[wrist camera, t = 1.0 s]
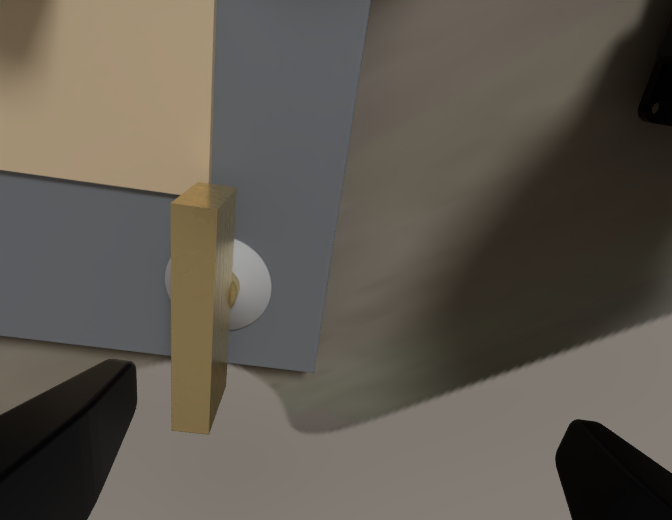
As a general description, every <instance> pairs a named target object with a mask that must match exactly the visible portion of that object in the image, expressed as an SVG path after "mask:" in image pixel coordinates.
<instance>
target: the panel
mask: <svg viewBox="0 0 672 520" xmlns="http://www.w3.org/2000/svg"><path fill="white" fill-rule="evenodd" d="M370 3H371V0H0V336H8V337H16V338H25V339H33V340H41V341H50V342H58V343H67V344H75V345H84V346H92V347H100V348H109V349H117V350H126V351H134V352H143V353H151V354H159V355H168V356H171V202H172V201H174V200H175V199H176V198H178V197H179V196H180V195H181V194H183V193H184V192H185V191H187V190H188V189H189V188H190V187H192V186H193V185H194V184H196V183H197V182H204V183H211V184H218V185H225V186H232V187H237V197H236V215H235V233H234V251H233V268H232V272H233V273H234V274H235V275H236V276H237V278H238V280H239V283H240V291H239V294H238V296H237V299H236V301H235V303H234V305H233V306H232V308H231V309H230V322H229V340H228V357H227V363H235V364H244V365H252V366H261V367H269V368H277V369H286V370H294V371H303V372H311V373H314V369H315V362H316V356H317V349H318V343H319V336H320V329H321V323H322V316H323V310H324V303H325V297H326V290H327V284H328V277H329V271H330V264H331V258H332V251H333V245H334V238H335V231H336V225H337V218H338V212H339V205H340V199H341V192H342V186H343V179H344V173H345V166H346V160H347V153H348V146H349V140H350V133H351V127H352V120H353V114H354V107H355V101H356V94H357V88H358V81H359V75H360V68H361V61H362V55H363V48H364V42H365V35H366V29H367V22H368V16H369V9H370Z"/></svg>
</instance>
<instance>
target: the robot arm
mask: <svg viewBox="0 0 672 520" xmlns="http://www.w3.org/2000/svg"><path fill="white" fill-rule="evenodd" d="M657 102H658V104H659V109H658V111H657V112H656V113H655V114H653V113H652V107H653V106H654V104H656V103H657ZM638 116H639V118H640V119H641V120H642V121H644V122H648V123H655V124H661V125H667V126H672V17H671V20H670V22H669V25H668V27H667V30H666V32H665V35H664V37H663V40H662V43H661V45H660V48H659V50H658V53H657V61H656V63H655V66H654V69H653V71H652V74H651V76H650V79H649V81H648V84H647V86H646V89H645V91H644V94H643V96H642V99H641V101H640V104H639V107H638ZM136 405H137V379H136V366H135V364H134V363H133V362H131V361H125V360H118V359H108V360H105V361H103V362H101V363H99V364H98V365H96V366H94V367H92V368H90V369H88V370H86V371H84V372H82V373H80V374H78V375H76V376H74V377H73V378H71V379H69V380H67V381H65V382H63V383H61V384H59V385H57V386H55V387H53V388H51V389H49V390H47V391H46V392H44V393H42V394H40V395H38V396H36V397H34V398H32V399H30V400H28V401H26V402H24V403H22V404H20V405H19V406H17V407H15V408H13V409H11V410H9V411H7V412H5V413H3V414H1V415H0V520H87V519H88V517H89V515H90V513H91V511H92V509H93V507H94V506H95V504H96V502H97V499H98V497H99V495H100V493H101V490H102V488H103V486H104V483H105V481H106V479H107V476H108V474H109V472H110V469H111V467H112V465H113V462H114V460H115V458H116V455H117V453H118V451H119V448H120V446H121V443H122V441H123V439H124V437H125V434H126V432H127V430H128V427H129V425H130V422H131V420H132V418H133V415H134V412H135V409H136ZM555 460H556V468H557V471H558V474H559V478H560V481H561V484H562V487H563V491H564V494H565V497H566V501H567V504H568V507H569V511H570V514H571V517H572V520H672V473H670V472H669V471H668V470H666V469H665V468H663V467H662V466H660V465H659V464H658V463H656V462H655V461H653V460H652V459H651V458H649V457H648V456H646V455H645V454H643V453H642V452H641V451H639V450H638V449H636V448H635V447H634V446H632V445H630V444H629V443H628V442H626V441H625V440H624V439H622V438H620V437H619V436H618V435H616V434H615V433H614V432H612V431H611V430H609V429H608V428H606V427H605V426H603V425H602V424H600V423H598V422H594V421H587V420H580V419H577V420H574V421H572V422H571V423H570V425H569V427H568V429H567V431H566V433H565V435H564V437H563V439H562V441H561V443H560V445H559V447H558V449H557V452H556V457H555Z"/></svg>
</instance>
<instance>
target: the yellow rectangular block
mask: <svg viewBox="0 0 672 520" xmlns="http://www.w3.org/2000/svg"><path fill="white" fill-rule="evenodd" d="M236 197H237V187H232V186H225V185H218V184H211V183H204V182H197V183H196V184H194V185H193V186H192V187H190V188H189V189H188V190H187V191H185V192H184V193H183V194H181V195H180V196H179V197H178V198H176V199H175V200H174V201H172V202H171V387H172V389H171V390H172V391H171V393H172V394H171V399H172V431H180V432H189V433H199V434H209V432H210V430H211V427H212V424H213V421H214V418H215V415H216V412H217V410H218V407H219V404H220V401H221V399H222V396H223V393H224V390H225V387H226V375H227V373H226V372H227V357H228V340H229V322H230V309H231V308H232V306H233V305H234V303H235V301H236V299H237V296H238V294H239V291H240V283H239V280H238V278H237V276H236V275H235V274H234V273H233V272H232V268H233V251H234V233H235V215H236Z"/></svg>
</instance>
